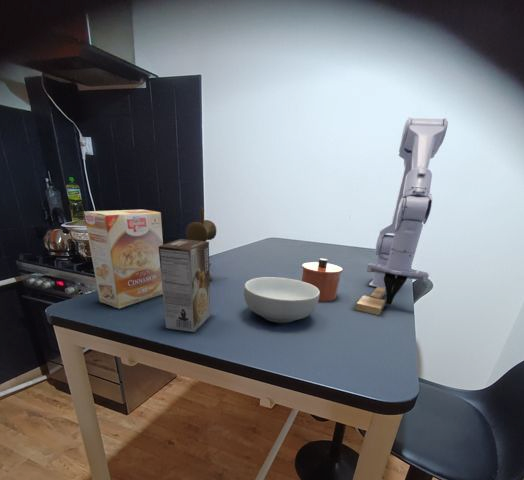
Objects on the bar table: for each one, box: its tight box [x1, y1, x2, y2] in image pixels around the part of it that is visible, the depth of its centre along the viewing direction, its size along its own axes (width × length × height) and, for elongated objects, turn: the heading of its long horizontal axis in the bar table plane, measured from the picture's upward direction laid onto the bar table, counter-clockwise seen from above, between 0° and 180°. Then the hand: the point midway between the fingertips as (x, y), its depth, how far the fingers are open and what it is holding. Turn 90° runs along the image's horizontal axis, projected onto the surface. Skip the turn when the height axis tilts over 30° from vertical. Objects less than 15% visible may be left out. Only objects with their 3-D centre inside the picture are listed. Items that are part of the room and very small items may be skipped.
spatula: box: [354, 287, 386, 316], centre depth 86 cm, size 19×6×2 cm, turn 152°
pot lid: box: [301, 258, 343, 274], centre depth 85 cm, size 11×11×3 cm
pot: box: [301, 268, 342, 302], centre depth 87 cm, size 10×10×8 cm
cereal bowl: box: [243, 276, 320, 324], centre depth 71 cm, size 17×17×7 cm
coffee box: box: [159, 238, 211, 333], centre depth 63 cm, size 9×6×16 cm
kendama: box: [185, 206, 217, 281], centre depth 90 cm, size 6×10×20 cm, turn 169°
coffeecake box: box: [83, 208, 164, 310], centre depth 73 cm, size 15×7×20 cm, turn 151°
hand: (388, 303), depth 84 cm, fingers closed
